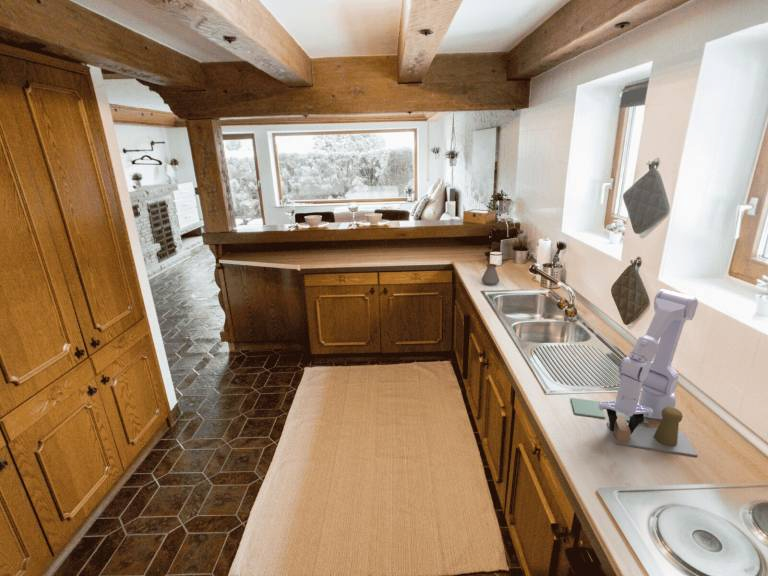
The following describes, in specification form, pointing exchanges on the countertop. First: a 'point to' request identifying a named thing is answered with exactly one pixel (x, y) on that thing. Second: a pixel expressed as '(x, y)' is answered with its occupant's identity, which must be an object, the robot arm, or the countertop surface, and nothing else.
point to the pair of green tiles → (593, 409)
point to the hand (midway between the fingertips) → (620, 430)
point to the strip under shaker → (647, 438)
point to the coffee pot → (490, 275)
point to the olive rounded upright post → (668, 427)
